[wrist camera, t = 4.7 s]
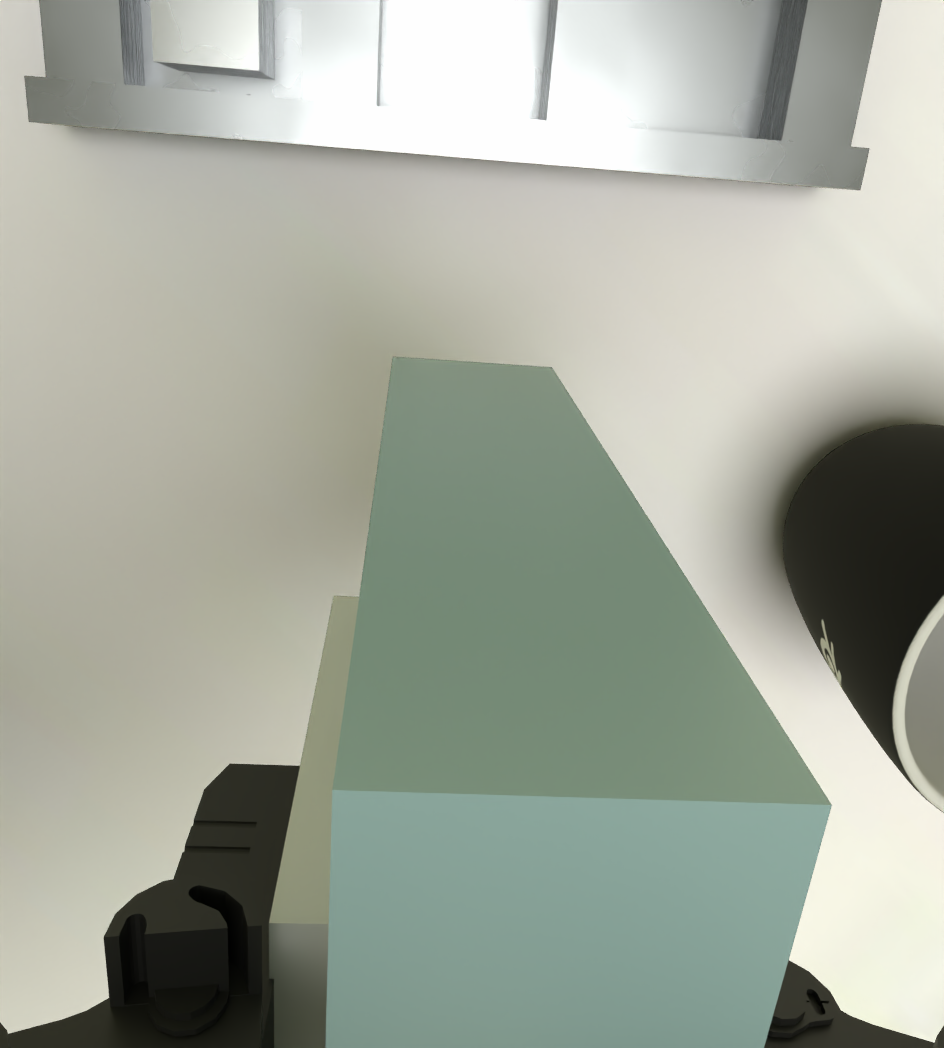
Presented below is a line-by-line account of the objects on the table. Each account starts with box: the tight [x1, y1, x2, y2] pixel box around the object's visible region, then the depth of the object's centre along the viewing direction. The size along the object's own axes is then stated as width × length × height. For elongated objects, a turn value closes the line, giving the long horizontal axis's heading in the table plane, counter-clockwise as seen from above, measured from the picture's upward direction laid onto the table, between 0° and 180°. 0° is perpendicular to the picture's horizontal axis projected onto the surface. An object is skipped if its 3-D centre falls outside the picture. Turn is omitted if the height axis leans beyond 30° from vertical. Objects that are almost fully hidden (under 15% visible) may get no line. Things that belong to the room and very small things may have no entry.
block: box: [325, 357, 832, 1048], centre depth 11 cm, size 2×10×10 cm, turn 175°
